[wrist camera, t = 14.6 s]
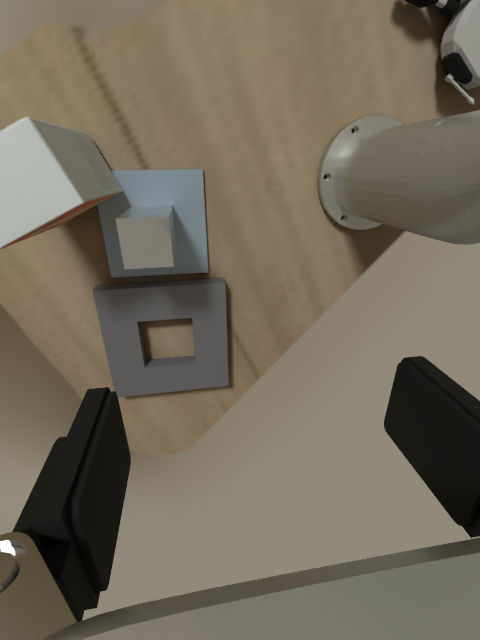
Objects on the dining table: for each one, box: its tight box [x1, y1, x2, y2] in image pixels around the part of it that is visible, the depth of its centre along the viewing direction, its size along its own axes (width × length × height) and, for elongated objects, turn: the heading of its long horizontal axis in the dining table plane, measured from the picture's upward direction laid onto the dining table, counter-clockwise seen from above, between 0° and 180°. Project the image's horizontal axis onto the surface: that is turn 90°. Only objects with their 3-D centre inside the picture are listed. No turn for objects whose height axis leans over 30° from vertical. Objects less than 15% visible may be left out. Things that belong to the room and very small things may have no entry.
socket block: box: [93, 278, 229, 397], centre depth 44 cm, size 16×16×2 cm
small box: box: [0, 117, 122, 249], centre depth 29 cm, size 8×6×13 cm
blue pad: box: [97, 169, 208, 278], centre depth 38 cm, size 12×12×1 cm
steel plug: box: [116, 205, 176, 269], centre depth 33 cm, size 4×4×10 cm
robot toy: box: [405, 0, 480, 104], centre depth 32 cm, size 12×4×15 cm
